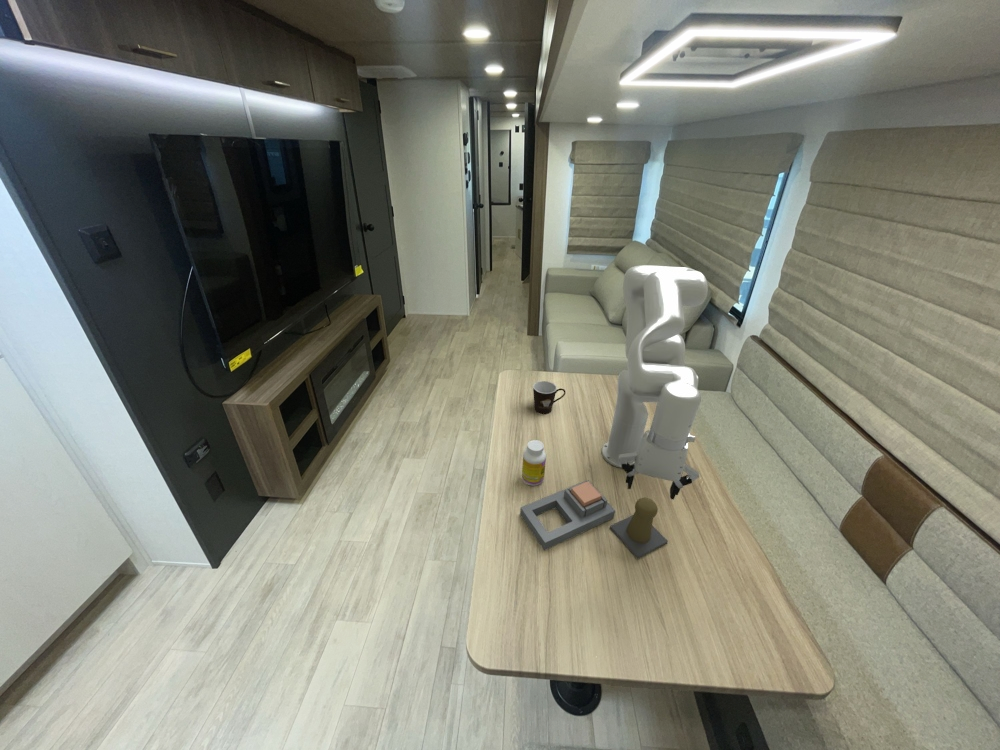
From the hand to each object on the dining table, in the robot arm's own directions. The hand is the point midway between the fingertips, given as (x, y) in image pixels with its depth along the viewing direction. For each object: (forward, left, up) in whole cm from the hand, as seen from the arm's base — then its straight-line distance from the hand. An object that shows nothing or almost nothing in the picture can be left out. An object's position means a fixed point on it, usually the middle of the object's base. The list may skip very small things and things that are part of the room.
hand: (650, 489), depth 94 cm
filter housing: (+14, -12, -16) cm, 24 cm away
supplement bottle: (+15, -28, -16) cm, 35 cm away
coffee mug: (-8, -56, -16) cm, 59 cm away
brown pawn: (0, +1, -15) cm, 15 cm away
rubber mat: (0, +1, -16) cm, 15 cm away
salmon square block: (+8, -12, -12) cm, 19 cm away
